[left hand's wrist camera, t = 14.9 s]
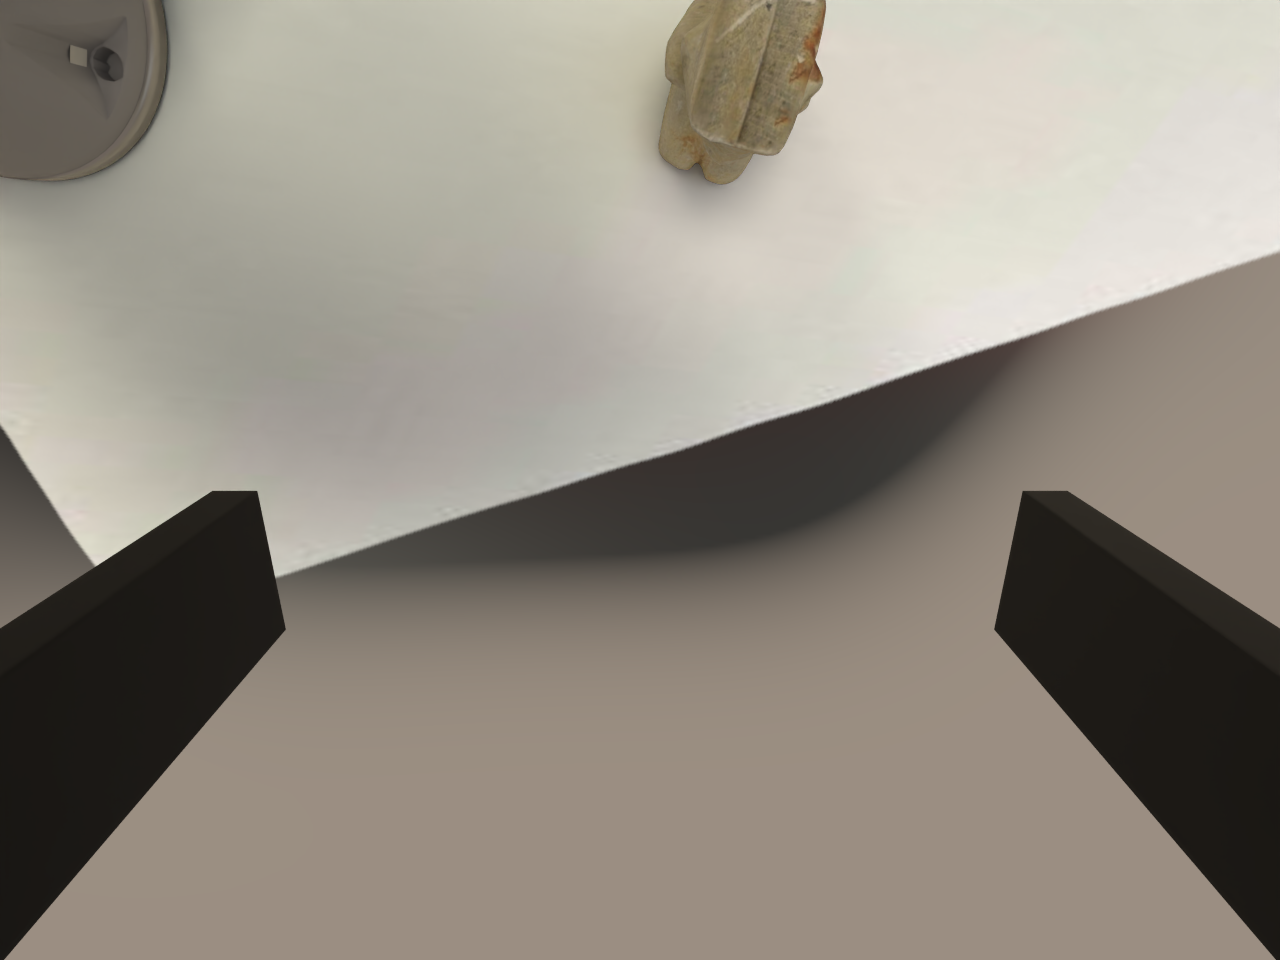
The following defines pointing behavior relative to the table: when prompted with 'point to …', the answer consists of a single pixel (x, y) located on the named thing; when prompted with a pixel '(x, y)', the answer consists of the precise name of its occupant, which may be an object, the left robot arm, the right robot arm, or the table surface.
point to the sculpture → (738, 81)
